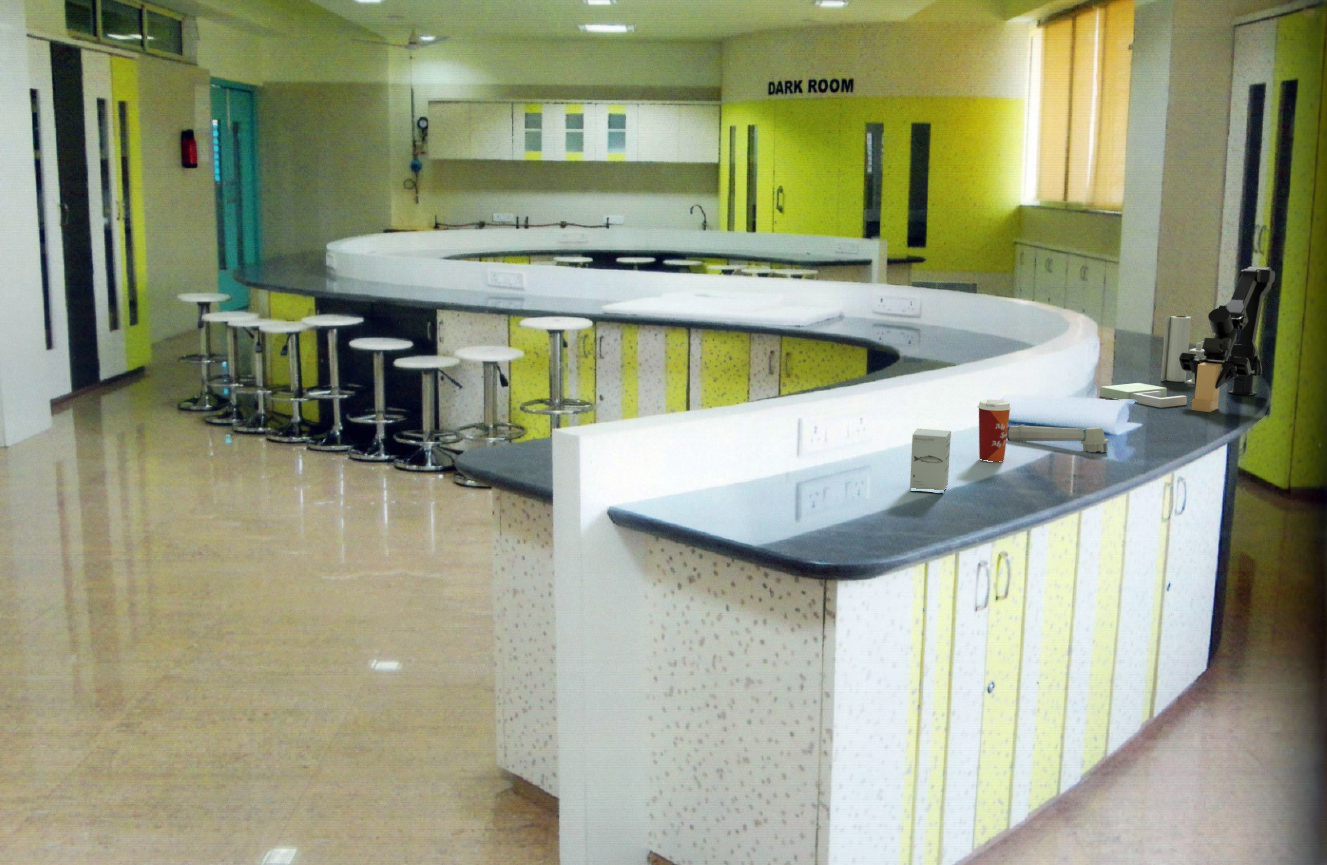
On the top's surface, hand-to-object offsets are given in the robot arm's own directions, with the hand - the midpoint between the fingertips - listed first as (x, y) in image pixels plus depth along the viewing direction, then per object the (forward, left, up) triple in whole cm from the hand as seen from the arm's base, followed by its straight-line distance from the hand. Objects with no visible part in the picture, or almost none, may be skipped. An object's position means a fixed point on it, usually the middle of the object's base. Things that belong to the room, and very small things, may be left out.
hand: (1205, 386), depth 342 cm
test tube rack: (-55, -23, -7) cm, 60 cm away
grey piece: (+75, -4, -7) cm, 75 cm away
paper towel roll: (-45, -29, -7) cm, 54 cm away
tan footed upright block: (0, 0, -7) cm, 7 cm away
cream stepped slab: (-4, -19, -7) cm, 20 cm away
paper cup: (+100, -7, -7) cm, 101 cm away
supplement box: (+134, -1, -7) cm, 134 cm away
